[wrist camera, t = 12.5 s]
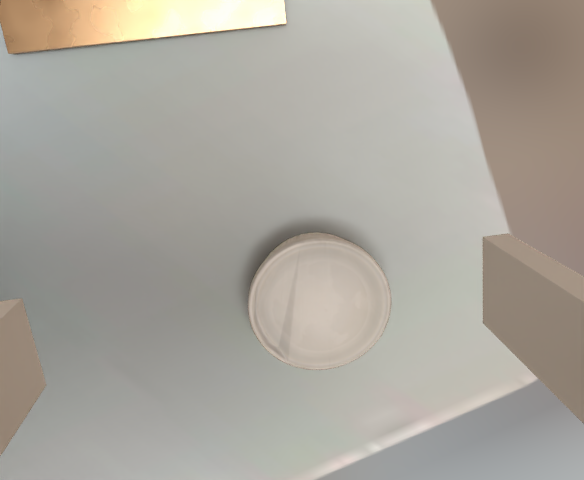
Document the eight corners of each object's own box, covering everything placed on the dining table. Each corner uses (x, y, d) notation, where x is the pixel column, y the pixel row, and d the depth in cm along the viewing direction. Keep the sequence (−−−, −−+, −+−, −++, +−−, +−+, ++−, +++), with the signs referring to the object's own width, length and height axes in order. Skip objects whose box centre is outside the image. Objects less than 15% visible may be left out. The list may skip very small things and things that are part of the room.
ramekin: (224, 256, 45) (222, 278, 40) (344, 198, 44) (357, 213, 39) (282, 361, 48) (286, 393, 43) (394, 308, 48) (412, 334, 42)
